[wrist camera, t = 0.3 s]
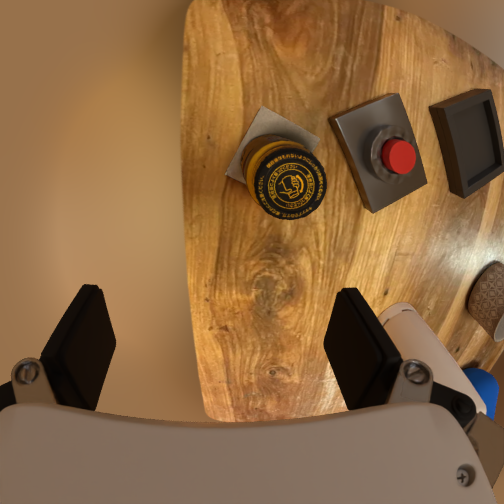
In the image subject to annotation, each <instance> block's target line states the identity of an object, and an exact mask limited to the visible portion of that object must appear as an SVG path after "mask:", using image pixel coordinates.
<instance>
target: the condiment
mask: <svg viewBox="0 0 504 504" xmlns="http://www.w3.org/2000/svg"><path fill="white" fill-rule="evenodd" d="M319 141H320V138H318V137H317V136H315V135H313V134H311V133H310V132H308V131H306V130H305V129H303V128H301V127H300V126H298V125H296V124H294V123H293V122H291V121H289V120H287V119H285V118H284V117H282V116H280V115H278V114H276V113H275V112H273V111H271V110H269V109H267V108H265V107H263V106H261V108H260V110H259V112H258V114H257V115H256V117H255V119H254V121H253V123H252V124H251V126H250V128H249V130H248V132H247V133H246V135H245V137H244V139H243V141H242V142H241V144H240V146H239V148H238V150H237V152H236V154H235V156H234V157H233V159H232V161H231V163H230V165H229V167H228V169H227V171H226V173H225V175H227V176H229V177H231V178H233V179H235V180H238V181H240V182H242V183H244V184H246V186H247V189H248V191H249V193H250V195H251V197H252V198H253V199H254V201H255V202H256V203H257V204H258V205H260V206H261V207H262V208H263V209H264V210H265V212H267V213H268V214H270V215H272V216H273V217H276V218H279V219H283V220H284V219H287V220H294V219H299V218H303V217H306V216H307V215H309V214H310V213H311V212H313V211H314V210H316V209H317V208H318V207H319V205H320V204H321V202H322V200H323V198H324V196H325V193H326V189H327V180H326V174H325V172H324V168H323V166H322V165H321V163H320V162H319V161H318V160H317V158H316V157H315V156H314V155H313V154H312V152H313V151H314V149H315V148H316V146H317V144H318V142H319Z"/></svg>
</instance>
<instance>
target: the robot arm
mask: <svg viewBox="0 0 504 504" xmlns="http://www.w3.org/2000/svg"><path fill="white" fill-rule="evenodd" d="M115 347H116V339H115V335H114V332H113V328H112V325H111V321H110V318H109V314H108V310H107V307H106V303H105V299H104V294H103V291H102V289H99V287H98V286H97V285H89V284H84V285H83V286H82V287H81V289H80V290H79V292H78V293H77V295H76V296H75V298H74V299H73V301H72V302H71V304H70V306H69V307H68V309H67V310H66V312H65V314H64V315H63V317H62V318H61V320H60V322H59V323H58V325H57V327H56V328H55V330H54V332H53V333H52V335H51V337H50V339H49V340H48V342H47V344H46V346H45V348H44V349H43V351H42V353H41V357H40V359H39V360H38V359H36V358H25V359H22V360H21V361H19V362H18V363H17V364H16V365H15V366H14V368H13V369H12V373H11V379H12V380H11V381H9V382H7V383H5V384H3V385H1V386H0V504H497V502H496V499H495V496H494V493H493V491H492V488H493V486H494V484H495V482H496V480H497V478H498V476H499V474H500V472H501V469H502V467H503V465H504V428H503V427H501V426H500V425H499V424H497V423H496V422H495V421H493V420H492V419H491V418H489V417H488V416H486V415H485V414H484V413H482V412H481V411H480V412H479V413H477V412H476V405H475V403H474V401H473V400H472V399H471V398H470V397H469V396H468V395H466V394H464V393H461V392H459V391H456V390H454V389H452V388H449V387H447V386H444V385H442V384H440V383H437V382H435V381H433V379H434V377H433V372H432V370H431V368H430V367H429V366H428V365H427V364H426V363H424V362H422V361H420V360H416V359H408V360H405V361H403V359H402V358H401V356H402V355H401V354H400V352H399V351H398V349H397V348H396V346H395V344H394V343H393V341H392V340H391V338H390V337H389V335H388V333H387V332H386V330H385V329H384V327H383V326H382V324H381V323H380V321H379V320H378V318H377V317H376V315H375V314H374V312H373V311H372V309H371V308H370V306H369V305H368V303H367V302H366V300H365V299H364V298H363V296H362V295H361V293H360V292H359V290H358V289H357V288H342V290H341V292H338V293H337V295H336V299H335V303H334V306H333V310H332V314H331V317H330V321H329V324H328V328H327V331H326V335H325V338H324V349H325V352H326V354H327V357H328V359H329V362H330V364H331V367H332V369H333V372H334V375H335V377H336V380H337V382H338V385H339V387H340V390H341V393H342V395H343V398H344V401H345V403H346V406H347V408H348V410H350V411H345V412H339V413H333V414H326V415H319V416H312V417H304V418H295V419H285V420H273V421H257V422H223V423H215V422H210V423H209V422H182V421H165V420H154V419H144V418H136V417H128V416H121V415H114V414H108V413H101V412H96V411H95V409H96V407H97V403H98V400H99V396H100V393H101V390H102V386H103V383H104V380H105V377H106V374H107V371H108V368H109V365H110V362H111V359H112V356H113V353H114V350H115Z"/></svg>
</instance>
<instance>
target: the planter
mask: <svg viewBox="0 0 504 504" xmlns="http://www.w3.org/2000/svg"><path fill="white" fill-rule="evenodd" d="M468 310H469V313H470V314H471V315H472V316H473V318H474V319H475V320H476V321H477V322H478V323H479V324H480V325H481V326H482V327H483V328H484V330H485V331H486V332H487V333H488V334H489V335H490V336H491V337H492V339H493V340H494V341H495V342H500V341H502V340H504V264H502V263H495V264H493V265H492V266H490V267H489V268H488V269H487V270H486V271H485V272H484V273H483V274H482V275H481V277H480V278H479V280H478V281H477V283H476V284H475V286H474V288H473V290H472V293H471V295H470V298H469V302H468Z"/></svg>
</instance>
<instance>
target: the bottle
mask: <svg viewBox="0 0 504 504" xmlns="http://www.w3.org/2000/svg"><path fill="white" fill-rule="evenodd" d="M402 310H407V311H403V312H402ZM410 310H412V311H410ZM388 319H389V321H388V322H387V323H386V324H385V325H384V323H385V322H386V321H387V320H388ZM378 320H379V321H380V323H381V324H382V326H383V325H384V329H385V330H386V332H387V333H388V335H389V337H390V338H391V340H392V341H393V343H394V344H395V346H396V348H397V349H398V351H399V352H400V354H401V355H402V356H401V358H402V359H403V361H405V360H408V359H416V360H420V361H422V362H424V363H426V364H427V365H428V366H429V367H430V368H431V370H432V372H433V377H434V379H433V381H435V382H437V383H440V384H442V385H444V386H447V387H449V388H452V389H454V390H456V391H459V392H461V393H464V394H466V395H468V396H469V397H470V398H471V399H472V400H473V401H474V403H475V405H476V412H477V413H479V412H480V411H481V412H482V413H484V414H485V415H486V412H487V410H486V405H485V403H484V402H483V400H482V399H481V397H480V396H479V394H478V393H477V391H476V390H475V388H474V387H473V385H472V384H471V382H470V381H469V379H468V378H467V377H466V375H465V374H464V372H463V371H462V370H461V368H460V367H459V365H458V364H457V363H456V361H455V360H454V359H453V357H452V356H451V355H450V353H449V352H448V350H447V349H446V348H445V347H444V345H443V344H442V343H441V341H440V340H439V339H438V337H437V336H436V335H435V334H434V332H433V331H432V330H431V329H430V327H429V326H428V325H427V324H426V322H425V321H424V320H423V319H422V317H421V316H420V315H419V314H418V313H417V312H416V310H415V309H414V308H413V306H412V305H410V304H409V303H406V302H400V303H396V304H394V305H392V306H390V307H389V308H387V309H386V310H385V311H384V312H383V313H382V314H381V315H380V316H379V317H378Z"/></svg>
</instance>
